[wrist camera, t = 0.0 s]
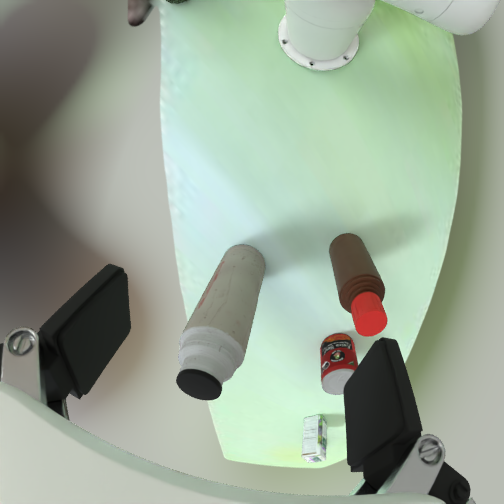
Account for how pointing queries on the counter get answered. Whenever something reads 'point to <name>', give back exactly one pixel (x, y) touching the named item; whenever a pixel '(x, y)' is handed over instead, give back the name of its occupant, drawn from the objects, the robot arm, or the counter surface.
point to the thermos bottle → (221, 324)
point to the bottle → (354, 270)
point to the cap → (368, 314)
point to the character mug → (175, 1)
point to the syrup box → (314, 438)
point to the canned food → (337, 362)
